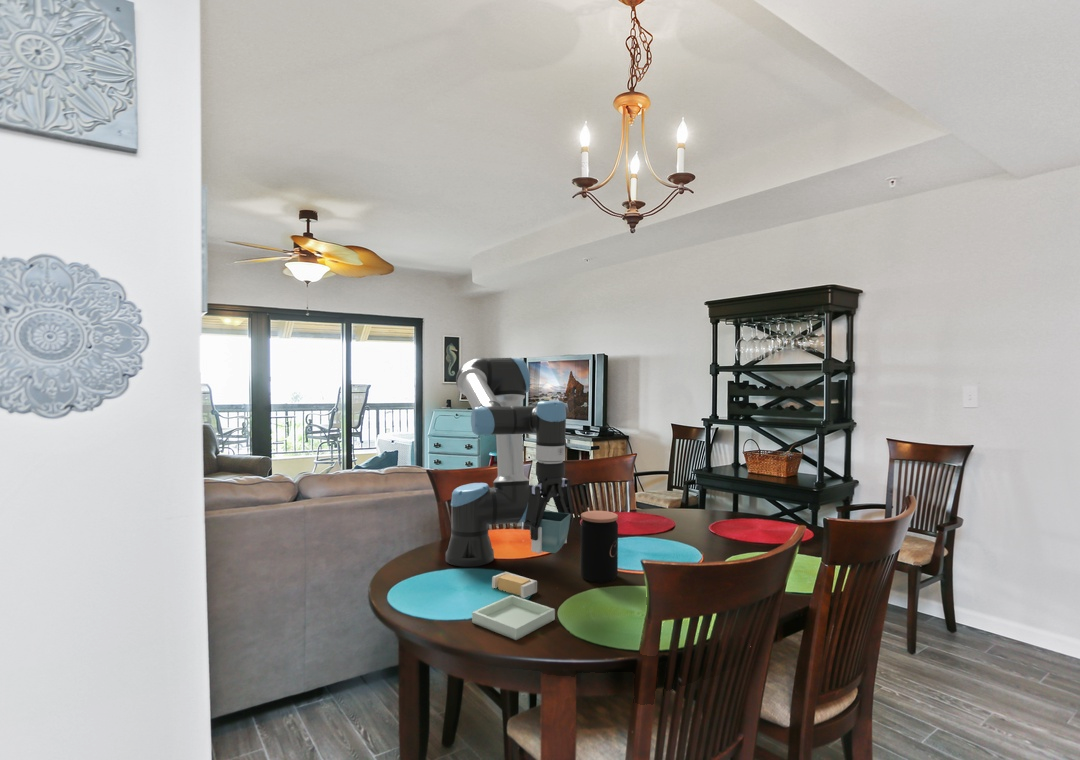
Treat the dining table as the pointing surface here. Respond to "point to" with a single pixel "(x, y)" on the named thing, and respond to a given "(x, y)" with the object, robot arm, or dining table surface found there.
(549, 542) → the flower pot
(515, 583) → the tan rectangular block
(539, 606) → the shallow square tray
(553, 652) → the dining table surface
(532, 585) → the clip
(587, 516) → the coffee jar
